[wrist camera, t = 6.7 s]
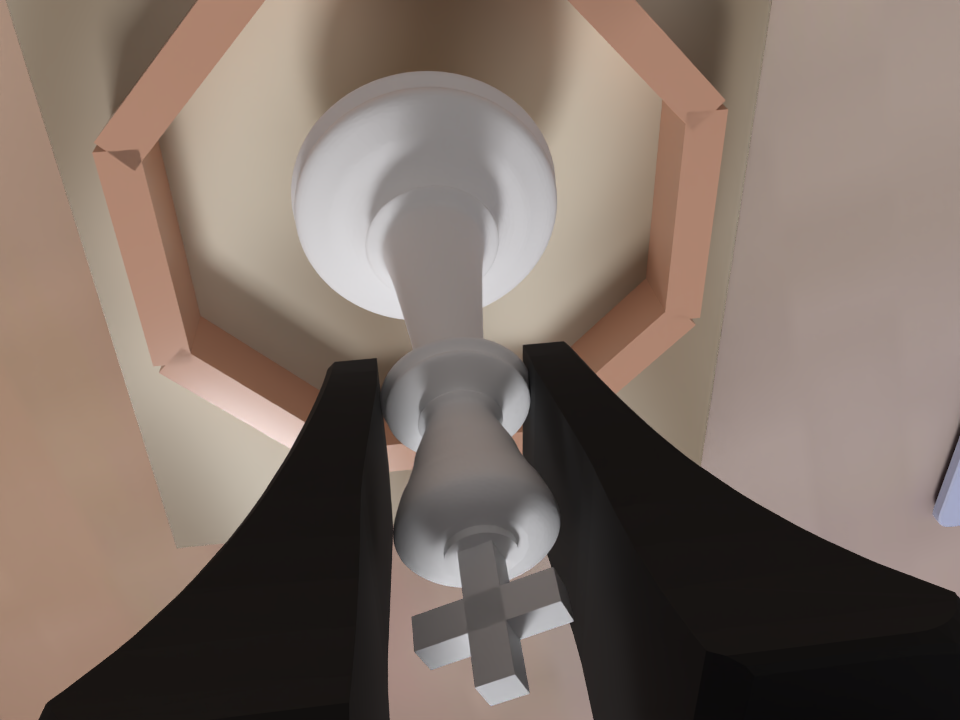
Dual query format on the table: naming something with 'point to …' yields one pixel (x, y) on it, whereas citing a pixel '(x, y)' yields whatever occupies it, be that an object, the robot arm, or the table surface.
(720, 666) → the robot arm
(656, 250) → the ring collar
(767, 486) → the table surface
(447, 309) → the chess piece
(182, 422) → the birch board
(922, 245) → the table surface
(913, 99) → the table surface
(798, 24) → the table surface
